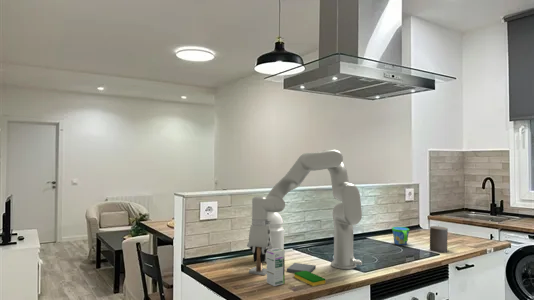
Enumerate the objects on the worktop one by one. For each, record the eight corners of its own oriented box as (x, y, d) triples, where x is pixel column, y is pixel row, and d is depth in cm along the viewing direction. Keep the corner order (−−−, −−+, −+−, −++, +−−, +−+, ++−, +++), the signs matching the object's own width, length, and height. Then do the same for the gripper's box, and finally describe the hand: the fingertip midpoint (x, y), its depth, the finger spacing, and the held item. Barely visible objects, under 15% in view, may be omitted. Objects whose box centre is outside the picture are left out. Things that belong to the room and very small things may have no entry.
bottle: (288, 258, 196) (289, 206, 197) (274, 264, 185) (275, 209, 185) (267, 254, 204) (267, 204, 205) (252, 260, 193) (253, 207, 193)
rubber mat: (315, 268, 178) (315, 265, 178) (308, 274, 168) (308, 271, 168) (294, 265, 183) (294, 262, 183) (286, 271, 173) (286, 268, 173)
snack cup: (413, 247, 224) (413, 230, 225) (396, 246, 225) (396, 230, 225) (404, 241, 240) (404, 226, 240) (388, 241, 240) (388, 225, 241)
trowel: (269, 271, 173) (269, 243, 173) (264, 275, 167) (264, 246, 168) (254, 269, 176) (254, 242, 176) (248, 272, 171) (249, 244, 171)
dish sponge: (306, 275, 169) (306, 270, 169) (325, 284, 157) (325, 278, 157) (293, 278, 165) (293, 272, 165) (313, 287, 154) (313, 281, 154)
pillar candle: (426, 250, 218) (427, 225, 218) (434, 247, 224) (434, 223, 224) (443, 253, 210) (443, 227, 210) (450, 250, 217) (450, 225, 217)
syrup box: (274, 286, 153) (274, 252, 153) (266, 282, 157) (266, 249, 158) (284, 284, 156) (285, 250, 156) (276, 280, 161) (276, 247, 161)
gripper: (278, 222, 172) (278, 261, 172) (248, 220, 179) (247, 257, 179) (272, 225, 166) (272, 265, 165) (240, 222, 172) (240, 261, 172)
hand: (259, 261), depth 172 cm, fingers closed on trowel, 3 cm apart
